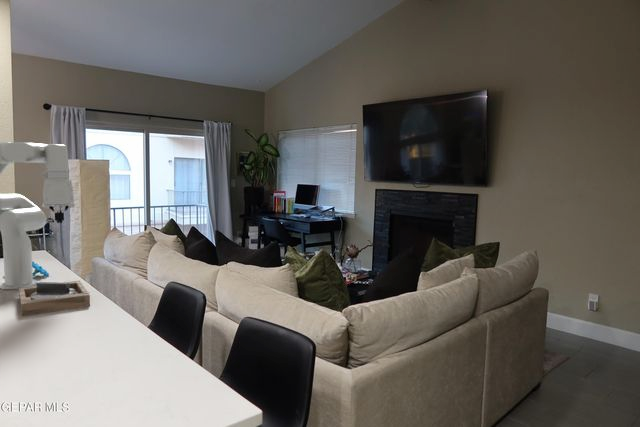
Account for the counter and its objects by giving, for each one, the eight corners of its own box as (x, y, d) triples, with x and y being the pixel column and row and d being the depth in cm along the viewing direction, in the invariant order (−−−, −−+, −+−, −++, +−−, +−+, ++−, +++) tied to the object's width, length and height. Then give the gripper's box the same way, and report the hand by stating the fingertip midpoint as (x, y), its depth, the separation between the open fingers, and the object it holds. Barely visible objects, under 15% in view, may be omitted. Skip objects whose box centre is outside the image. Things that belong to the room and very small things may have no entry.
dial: (21, 302, 152) (20, 287, 152) (47, 291, 166) (47, 277, 166) (60, 303, 152) (59, 288, 151) (83, 292, 166) (83, 278, 165)
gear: (48, 275, 192) (28, 260, 189) (37, 285, 190) (17, 270, 187) (52, 273, 202) (34, 258, 199) (42, 283, 200) (23, 268, 198)
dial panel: (19, 298, 163) (18, 287, 163) (80, 290, 175) (79, 279, 174) (22, 315, 144) (21, 303, 143) (90, 305, 156) (90, 294, 155)
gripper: (35, 176, 164) (37, 224, 166) (80, 176, 173) (82, 222, 174) (34, 175, 170) (36, 222, 172) (77, 176, 179) (79, 220, 180)
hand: (59, 222), depth 173 cm, fingers closed
